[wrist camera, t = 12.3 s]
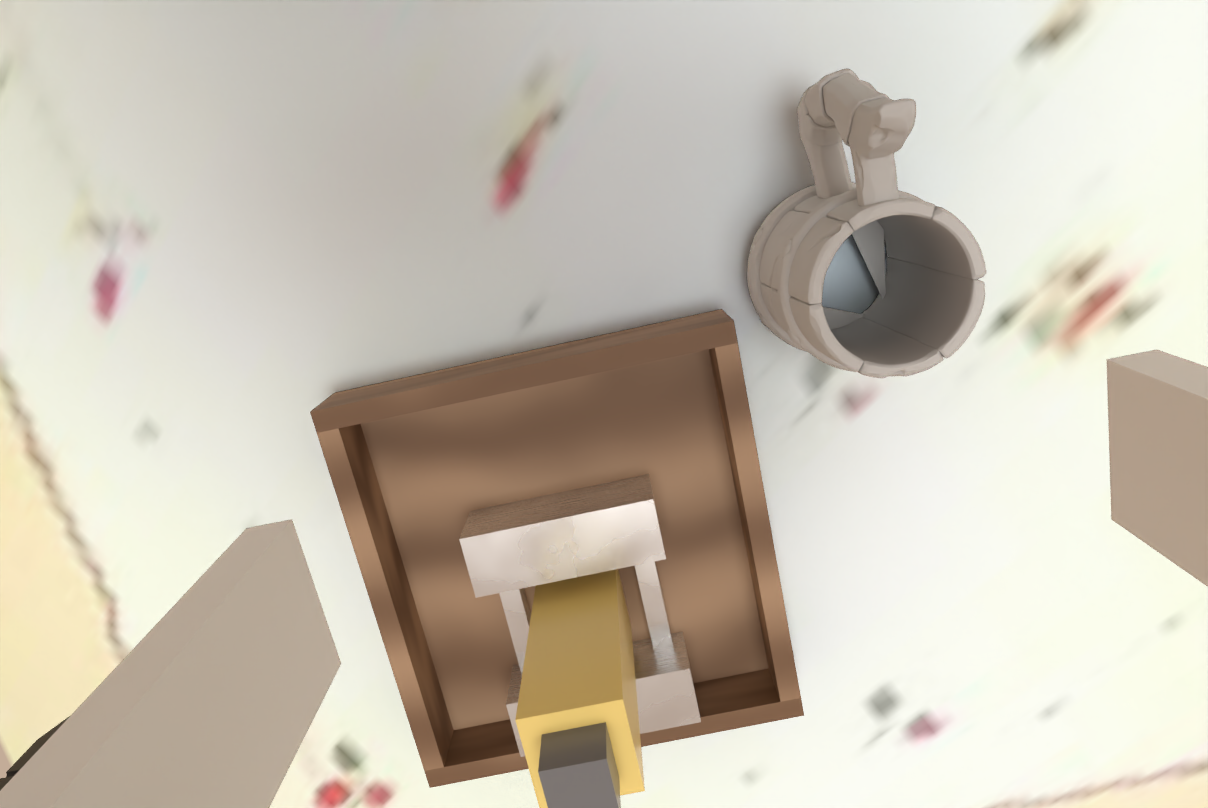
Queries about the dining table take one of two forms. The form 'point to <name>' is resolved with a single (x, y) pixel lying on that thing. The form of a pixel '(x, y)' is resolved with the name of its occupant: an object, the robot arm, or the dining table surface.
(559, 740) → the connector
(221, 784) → the robot arm
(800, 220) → the mug
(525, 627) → the inlet
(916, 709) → the dining table surface
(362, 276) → the dining table surface
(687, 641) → the box
